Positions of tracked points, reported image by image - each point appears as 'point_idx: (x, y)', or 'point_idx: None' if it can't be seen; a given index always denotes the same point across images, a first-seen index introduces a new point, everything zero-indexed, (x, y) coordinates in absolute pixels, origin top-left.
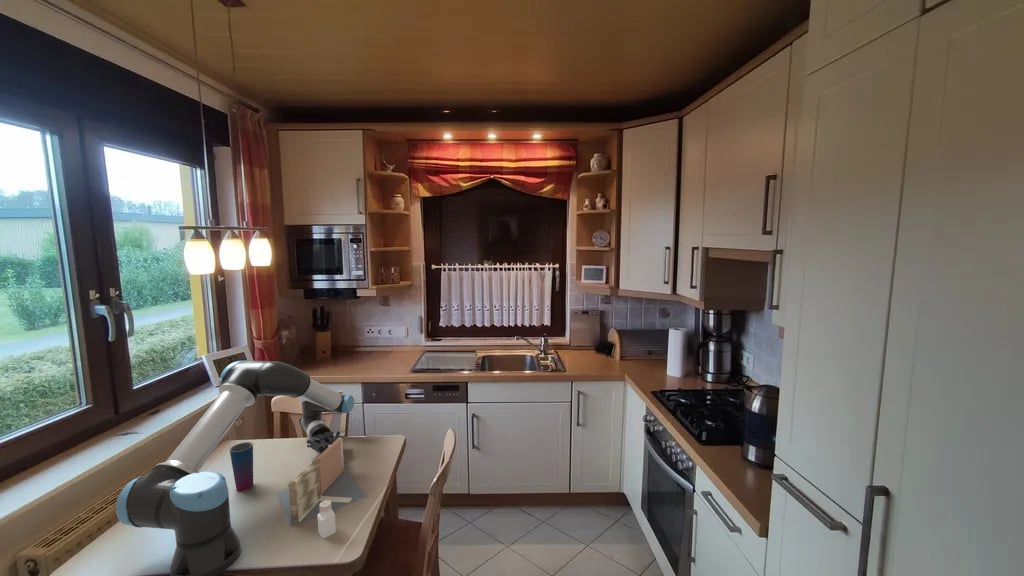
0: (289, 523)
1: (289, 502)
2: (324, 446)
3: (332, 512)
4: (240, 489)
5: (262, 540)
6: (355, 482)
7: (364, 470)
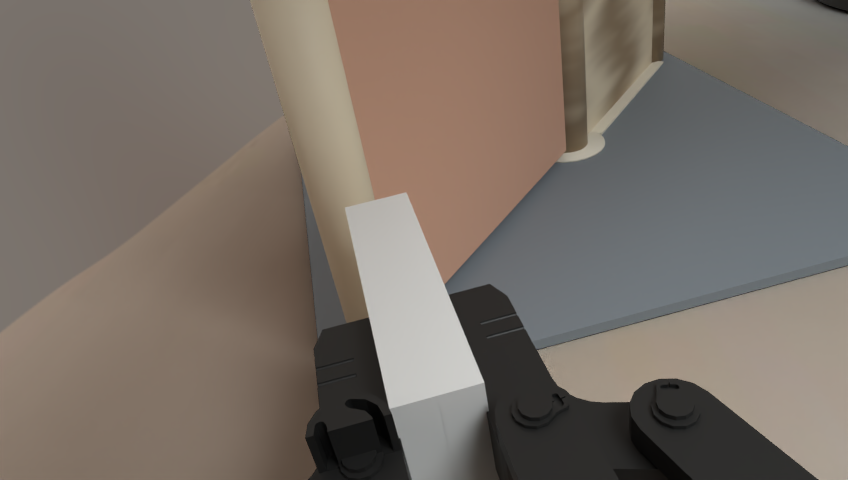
0: (673, 58)
1: (761, 138)
2: (593, 450)
3: None
4: None
5: (762, 29)
6: (311, 220)
7: (181, 349)
